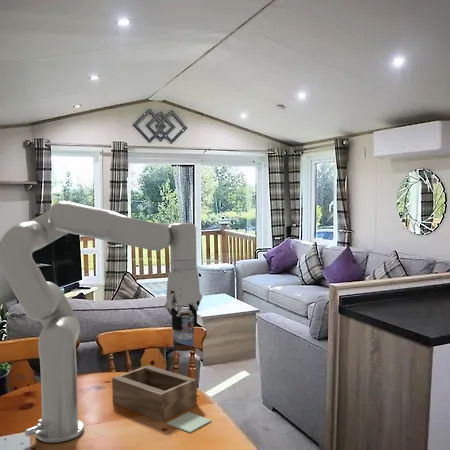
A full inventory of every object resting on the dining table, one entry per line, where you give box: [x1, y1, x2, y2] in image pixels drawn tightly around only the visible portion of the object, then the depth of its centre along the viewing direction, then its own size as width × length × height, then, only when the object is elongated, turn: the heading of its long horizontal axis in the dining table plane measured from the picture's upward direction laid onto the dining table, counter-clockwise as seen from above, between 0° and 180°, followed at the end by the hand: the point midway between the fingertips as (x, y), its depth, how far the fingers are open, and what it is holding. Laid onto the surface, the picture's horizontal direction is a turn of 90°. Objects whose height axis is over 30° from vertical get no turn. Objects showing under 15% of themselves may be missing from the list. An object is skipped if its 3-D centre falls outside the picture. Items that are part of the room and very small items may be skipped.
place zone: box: [166, 411, 212, 434], centre depth 139 cm, size 9×9×1 cm
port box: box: [111, 364, 198, 423], centre depth 152 cm, size 15×22×8 cm
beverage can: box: [172, 309, 195, 354], centre depth 139 cm, size 6×7×12 cm
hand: (184, 326), depth 139 cm, fingers closed on beverage can, 6 cm apart
